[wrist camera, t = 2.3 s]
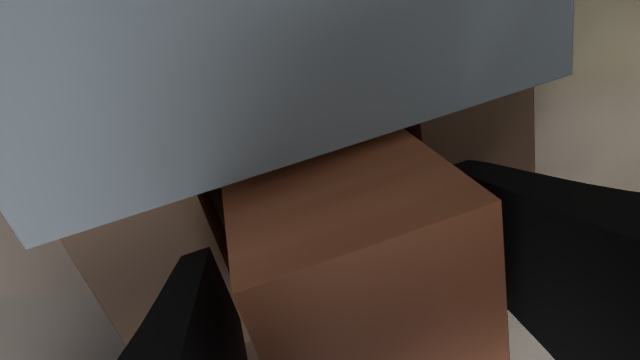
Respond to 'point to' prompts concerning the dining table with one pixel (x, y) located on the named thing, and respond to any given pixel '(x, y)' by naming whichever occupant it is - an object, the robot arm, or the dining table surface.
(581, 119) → the dining table surface
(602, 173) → the dining table surface
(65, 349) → the dining table surface
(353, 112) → the lid
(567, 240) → the robot arm
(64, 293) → the dining table surface
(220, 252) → the brown tray
